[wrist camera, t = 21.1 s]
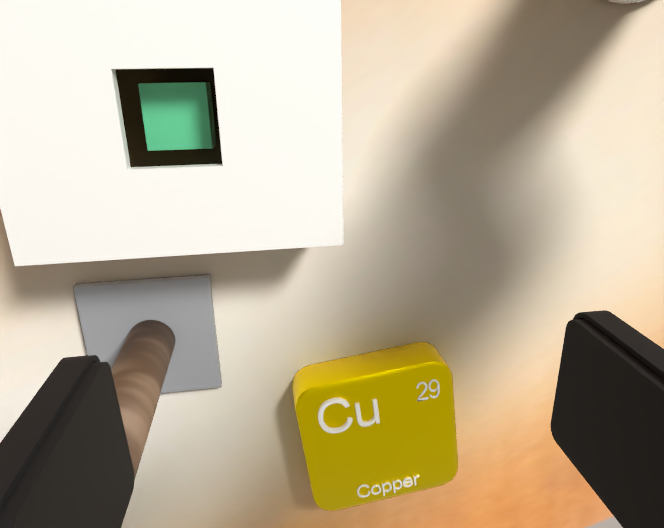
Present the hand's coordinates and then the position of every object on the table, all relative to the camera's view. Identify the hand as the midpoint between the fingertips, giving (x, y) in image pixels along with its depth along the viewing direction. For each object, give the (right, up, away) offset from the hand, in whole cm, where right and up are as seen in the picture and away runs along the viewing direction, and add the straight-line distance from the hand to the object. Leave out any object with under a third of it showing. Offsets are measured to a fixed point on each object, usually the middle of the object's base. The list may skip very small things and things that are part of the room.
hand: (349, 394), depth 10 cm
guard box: (-12, +14, +28) cm, 34 cm away
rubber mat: (-16, -4, +34) cm, 38 cm away
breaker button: (-12, +14, +27) cm, 33 cm away
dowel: (-16, -4, +33) cm, 37 cm away
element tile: (+4, -13, +41) cm, 43 cm away
